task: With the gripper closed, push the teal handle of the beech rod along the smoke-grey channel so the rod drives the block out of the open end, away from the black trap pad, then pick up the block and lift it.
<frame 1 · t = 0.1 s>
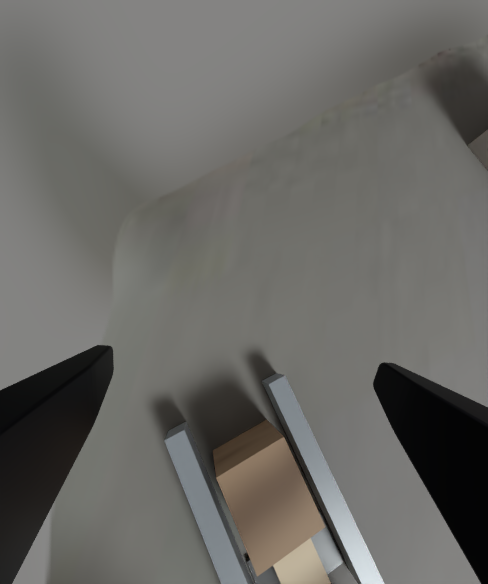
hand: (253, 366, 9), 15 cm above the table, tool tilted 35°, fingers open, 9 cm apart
block: (255, 469, 22), on the table
channel: (266, 495, 21), on the table
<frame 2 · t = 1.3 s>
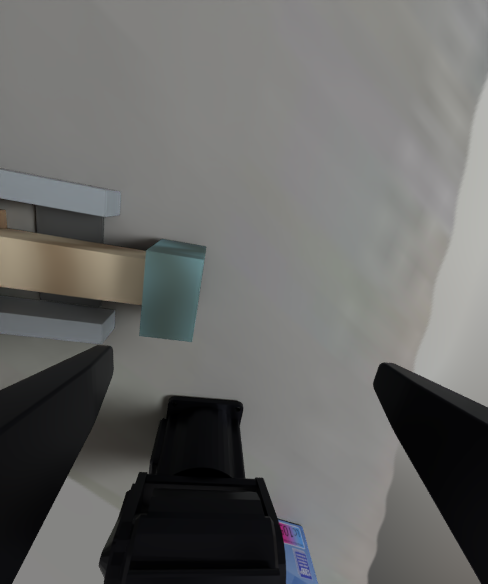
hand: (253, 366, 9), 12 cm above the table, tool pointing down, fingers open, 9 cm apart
ink cartridge box: (256, 526, 30), on the table
push rod: (96, 275, 16), point 3 cm above the table, slide at 0.0 cm
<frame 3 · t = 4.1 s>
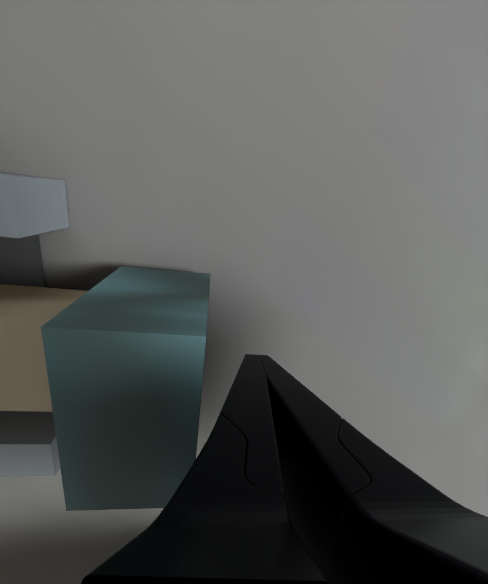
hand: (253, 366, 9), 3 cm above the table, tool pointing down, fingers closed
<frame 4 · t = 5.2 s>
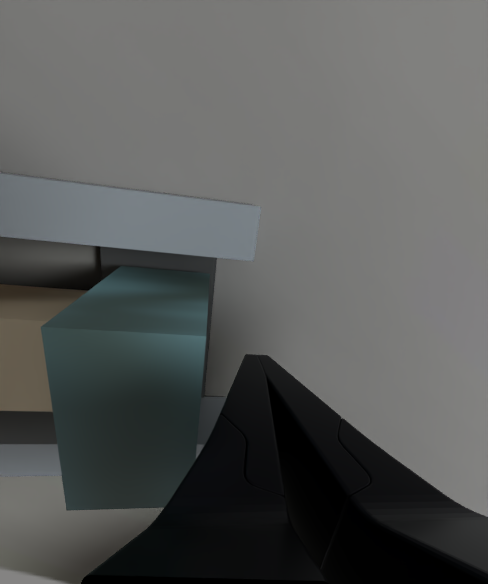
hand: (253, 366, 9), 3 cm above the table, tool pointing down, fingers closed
channel: (22, 316, 10), on the table
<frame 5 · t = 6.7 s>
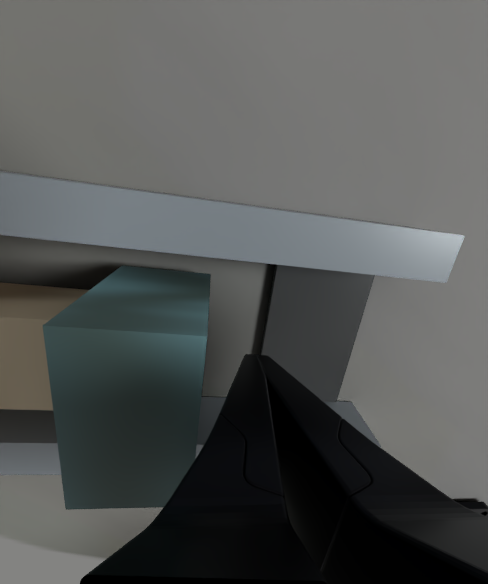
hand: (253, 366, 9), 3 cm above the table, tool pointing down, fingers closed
channel: (192, 326, 11), on the table
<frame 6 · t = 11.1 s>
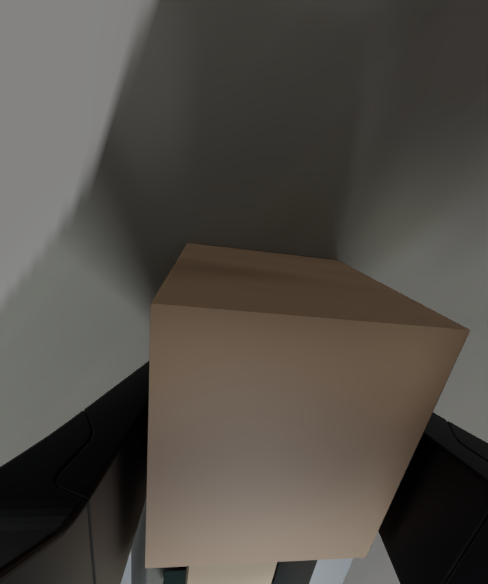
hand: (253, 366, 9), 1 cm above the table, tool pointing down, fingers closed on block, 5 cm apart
block: (252, 333, 10), on the table, touching gripper
channel: (212, 580, 15), on the table
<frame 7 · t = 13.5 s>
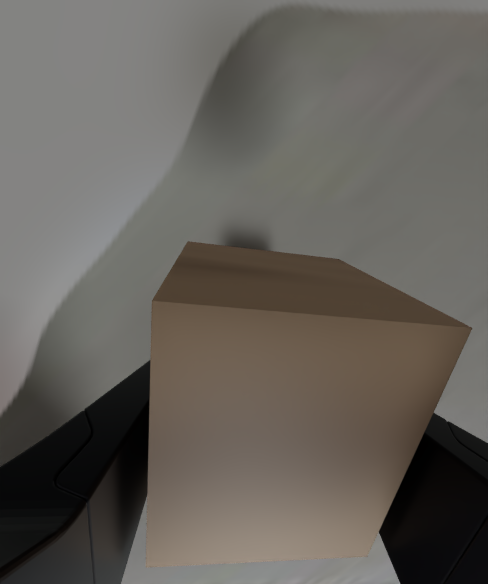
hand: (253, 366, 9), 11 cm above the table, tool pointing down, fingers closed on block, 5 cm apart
block: (252, 332, 10), point 9 cm above the table, touching gripper
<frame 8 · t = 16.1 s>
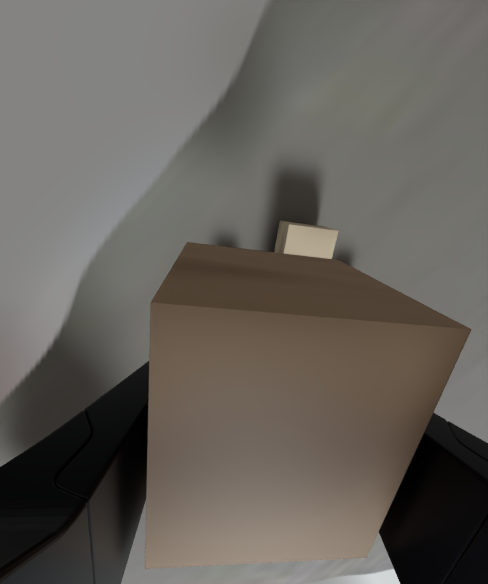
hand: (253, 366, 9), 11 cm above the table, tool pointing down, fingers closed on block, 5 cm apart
block: (252, 333, 10), point 10 cm above the table, touching gripper
push rod: (292, 323, 18), point 3 cm above the table, slide at 13.6 cm
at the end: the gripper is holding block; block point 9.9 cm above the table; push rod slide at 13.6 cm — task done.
